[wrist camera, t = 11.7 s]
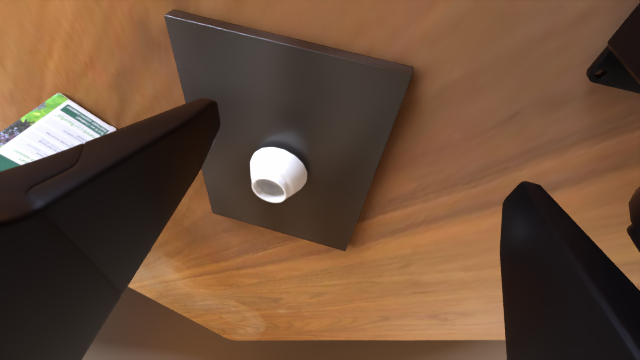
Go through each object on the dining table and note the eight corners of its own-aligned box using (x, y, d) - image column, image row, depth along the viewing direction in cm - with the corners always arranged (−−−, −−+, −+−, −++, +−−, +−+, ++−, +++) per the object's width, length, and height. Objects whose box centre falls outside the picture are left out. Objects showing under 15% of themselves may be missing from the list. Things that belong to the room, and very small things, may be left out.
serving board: (413, 66, 19) (412, 74, 18) (347, 244, 36) (345, 251, 35) (172, 9, 20) (163, 14, 20) (216, 206, 37) (212, 213, 36)
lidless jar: (295, 193, 29) (317, 163, 26) (285, 217, 28) (307, 189, 24) (247, 168, 29) (263, 134, 25) (234, 192, 27) (248, 158, 23)
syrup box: (119, 129, 31) (-24, 257, 21) (110, 156, 35) (-14, 274, 25) (59, 90, 29) (-127, 212, 19) (57, 124, 33) (-99, 239, 23)
